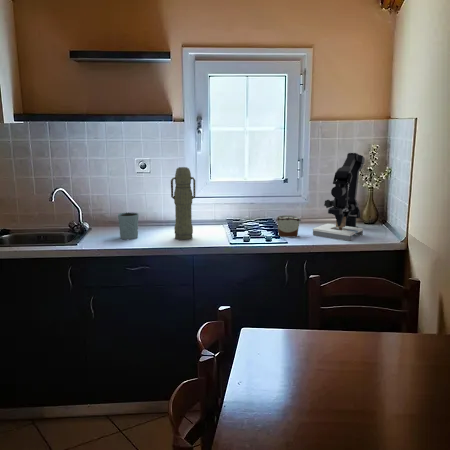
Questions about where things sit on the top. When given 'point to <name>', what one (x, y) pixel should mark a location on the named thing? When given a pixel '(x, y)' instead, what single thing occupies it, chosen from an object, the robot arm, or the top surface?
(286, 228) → the food container
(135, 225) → the green plant pot
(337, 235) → the keyhole plate
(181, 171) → the thermos
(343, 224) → the T-peg
